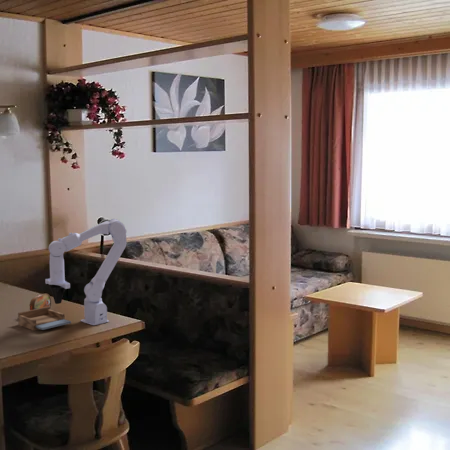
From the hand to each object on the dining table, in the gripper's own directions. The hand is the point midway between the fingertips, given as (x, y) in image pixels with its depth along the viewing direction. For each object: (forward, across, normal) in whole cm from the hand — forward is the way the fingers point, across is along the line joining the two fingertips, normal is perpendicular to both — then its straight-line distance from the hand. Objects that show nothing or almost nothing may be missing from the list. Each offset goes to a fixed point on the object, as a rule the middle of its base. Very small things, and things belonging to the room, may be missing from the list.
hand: (58, 303), depth 255 cm
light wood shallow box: (+9, -5, -5) cm, 11 cm away
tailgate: (+7, +1, -5) cm, 8 cm away
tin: (+9, -19, +4) cm, 21 cm away
